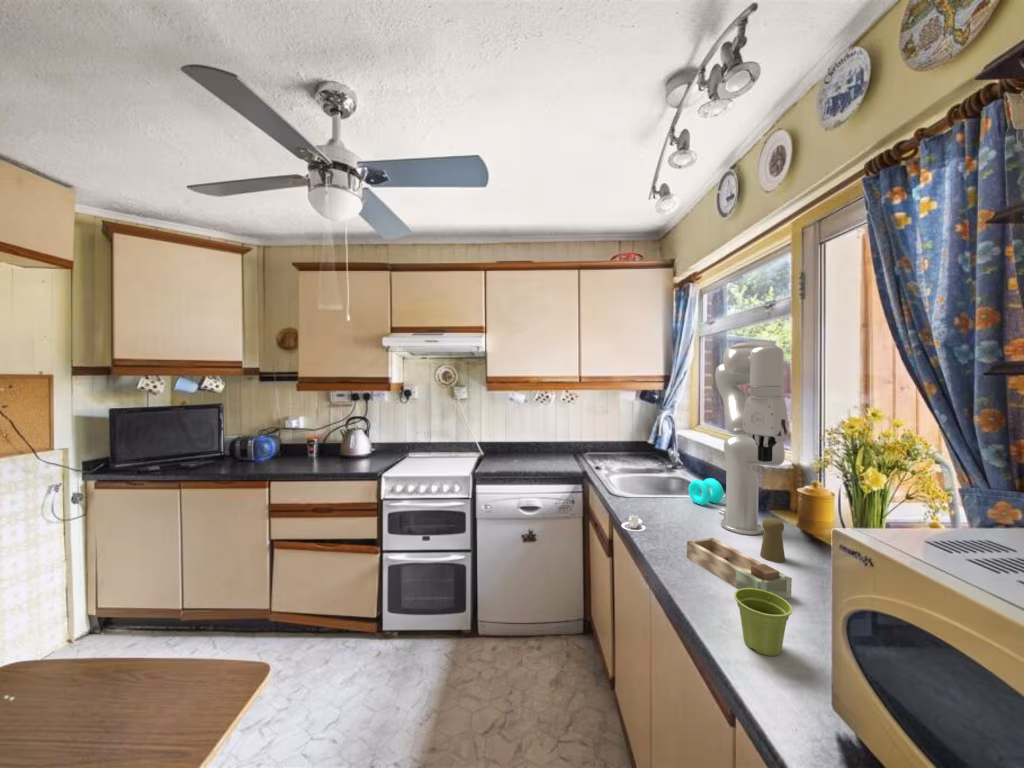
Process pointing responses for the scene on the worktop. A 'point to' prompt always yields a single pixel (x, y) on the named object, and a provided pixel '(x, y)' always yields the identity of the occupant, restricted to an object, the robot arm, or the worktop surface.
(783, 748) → the worktop surface
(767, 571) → the block
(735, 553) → the box
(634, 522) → the teacup and saucer
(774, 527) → the cork
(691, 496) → the donuts
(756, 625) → the plant pot
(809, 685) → the worktop surface
